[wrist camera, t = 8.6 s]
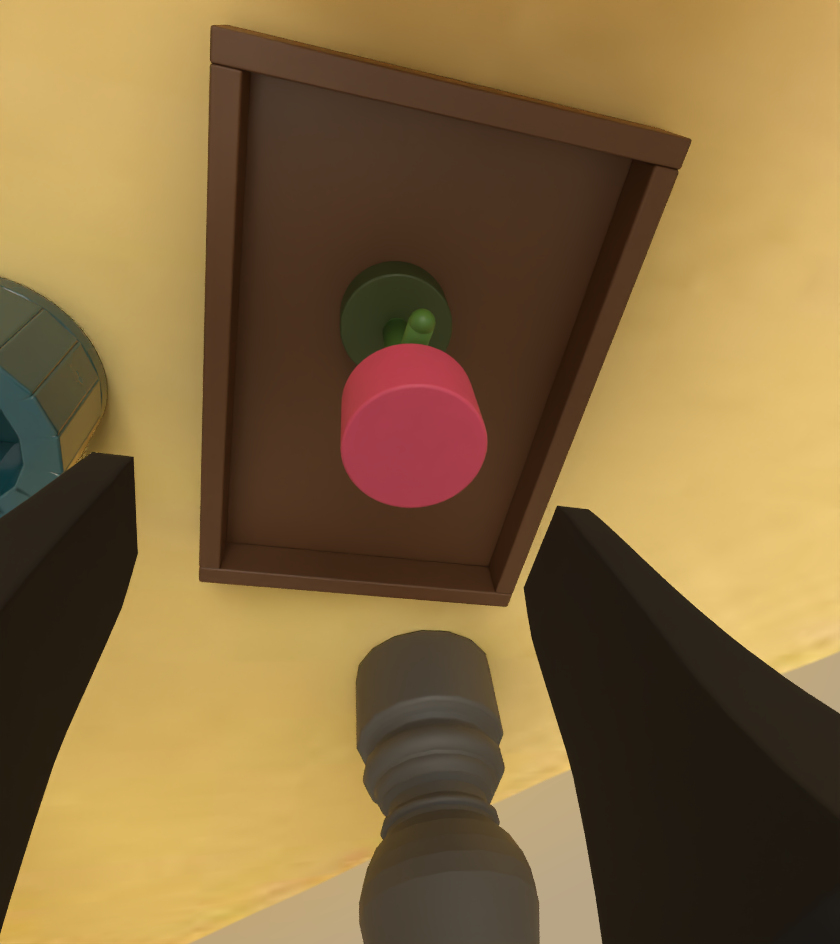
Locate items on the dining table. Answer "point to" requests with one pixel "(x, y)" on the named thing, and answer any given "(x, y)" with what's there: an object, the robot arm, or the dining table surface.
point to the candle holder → (438, 799)
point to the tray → (431, 248)
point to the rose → (405, 391)
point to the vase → (43, 393)
